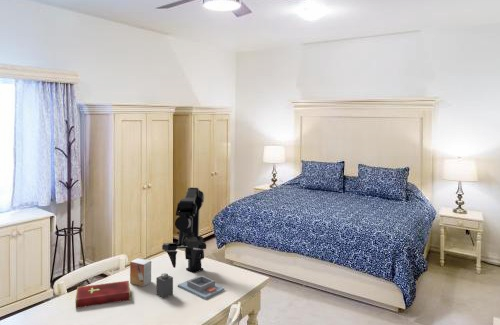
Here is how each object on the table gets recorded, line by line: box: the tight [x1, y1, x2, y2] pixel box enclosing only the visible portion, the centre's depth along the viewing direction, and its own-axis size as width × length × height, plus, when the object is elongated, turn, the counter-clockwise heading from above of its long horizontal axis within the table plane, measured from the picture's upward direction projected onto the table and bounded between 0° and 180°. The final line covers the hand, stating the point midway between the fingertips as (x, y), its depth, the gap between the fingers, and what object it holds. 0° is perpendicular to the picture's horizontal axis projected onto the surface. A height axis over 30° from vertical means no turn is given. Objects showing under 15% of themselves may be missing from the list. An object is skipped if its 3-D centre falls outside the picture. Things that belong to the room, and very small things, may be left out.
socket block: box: [177, 275, 225, 300], centre depth 170 cm, size 18×12×4 cm, turn 50°
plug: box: [155, 272, 174, 299], centre depth 162 cm, size 5×5×9 cm
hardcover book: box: [75, 280, 131, 309], centre depth 159 cm, size 12×21×4 cm, turn 111°
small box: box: [129, 257, 152, 287], centre depth 174 cm, size 8×6×10 cm
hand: (183, 266), depth 159 cm, fingers open, 9 cm apart
